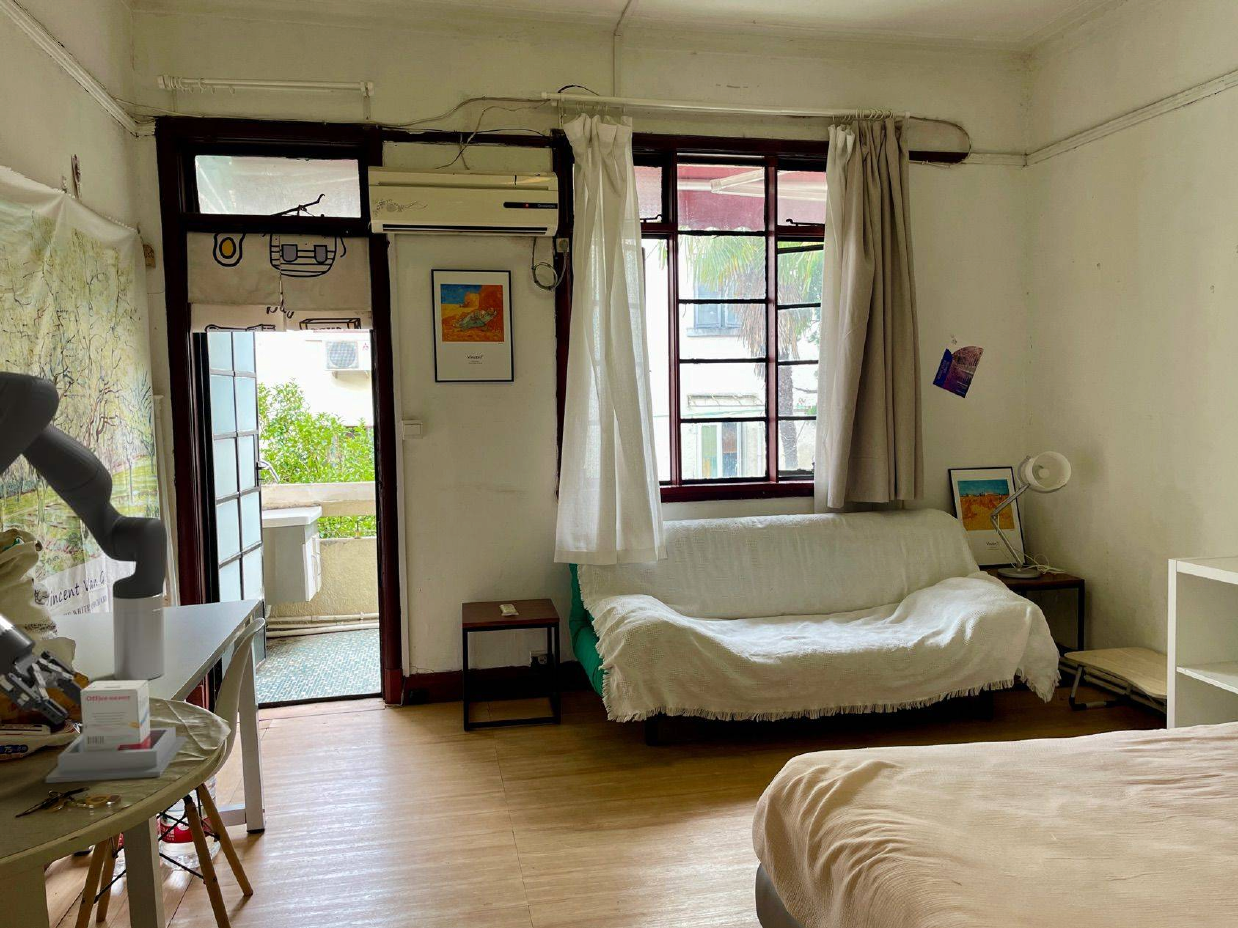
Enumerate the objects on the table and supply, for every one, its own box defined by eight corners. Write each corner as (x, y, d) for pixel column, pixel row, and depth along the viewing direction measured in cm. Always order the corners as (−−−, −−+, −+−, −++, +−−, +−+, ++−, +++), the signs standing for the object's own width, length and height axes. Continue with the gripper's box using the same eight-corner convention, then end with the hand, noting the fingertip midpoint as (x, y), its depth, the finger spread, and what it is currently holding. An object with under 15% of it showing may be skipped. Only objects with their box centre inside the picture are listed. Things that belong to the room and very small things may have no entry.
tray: (82, 746, 147) (82, 727, 147) (185, 741, 150) (185, 722, 150) (45, 782, 133) (45, 761, 133) (159, 776, 136) (159, 755, 136)
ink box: (152, 748, 145) (151, 678, 144) (140, 761, 140) (138, 688, 139) (95, 750, 144) (94, 679, 143) (81, 763, 139) (79, 690, 138)
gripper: (-13, 636, 130) (75, 708, 133) (31, 613, 144) (109, 678, 147) (-52, 673, 129) (36, 744, 132) (-5, 645, 143) (74, 711, 146)
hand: (74, 709), depth 140 cm, fingers open, 8 cm apart
